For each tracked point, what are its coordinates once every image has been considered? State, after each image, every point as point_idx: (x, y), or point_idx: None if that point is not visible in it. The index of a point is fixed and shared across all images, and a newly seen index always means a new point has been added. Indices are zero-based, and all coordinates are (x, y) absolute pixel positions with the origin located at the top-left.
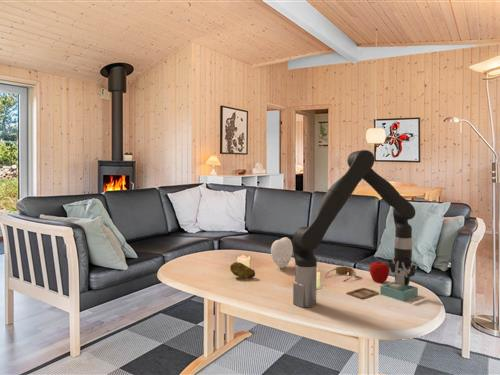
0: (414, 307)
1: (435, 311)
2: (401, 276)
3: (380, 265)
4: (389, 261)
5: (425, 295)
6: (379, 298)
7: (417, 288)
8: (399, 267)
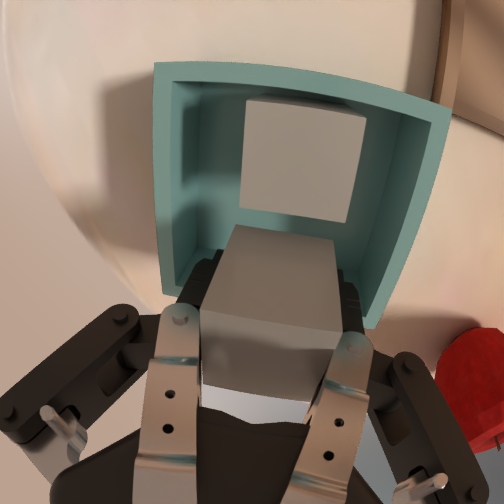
0: (101, 50)
1: (24, 104)
2: (247, 299)
3: (497, 423)
4: (474, 486)
5: None
6: (385, 22)
7: (165, 285)
8: (288, 436)
